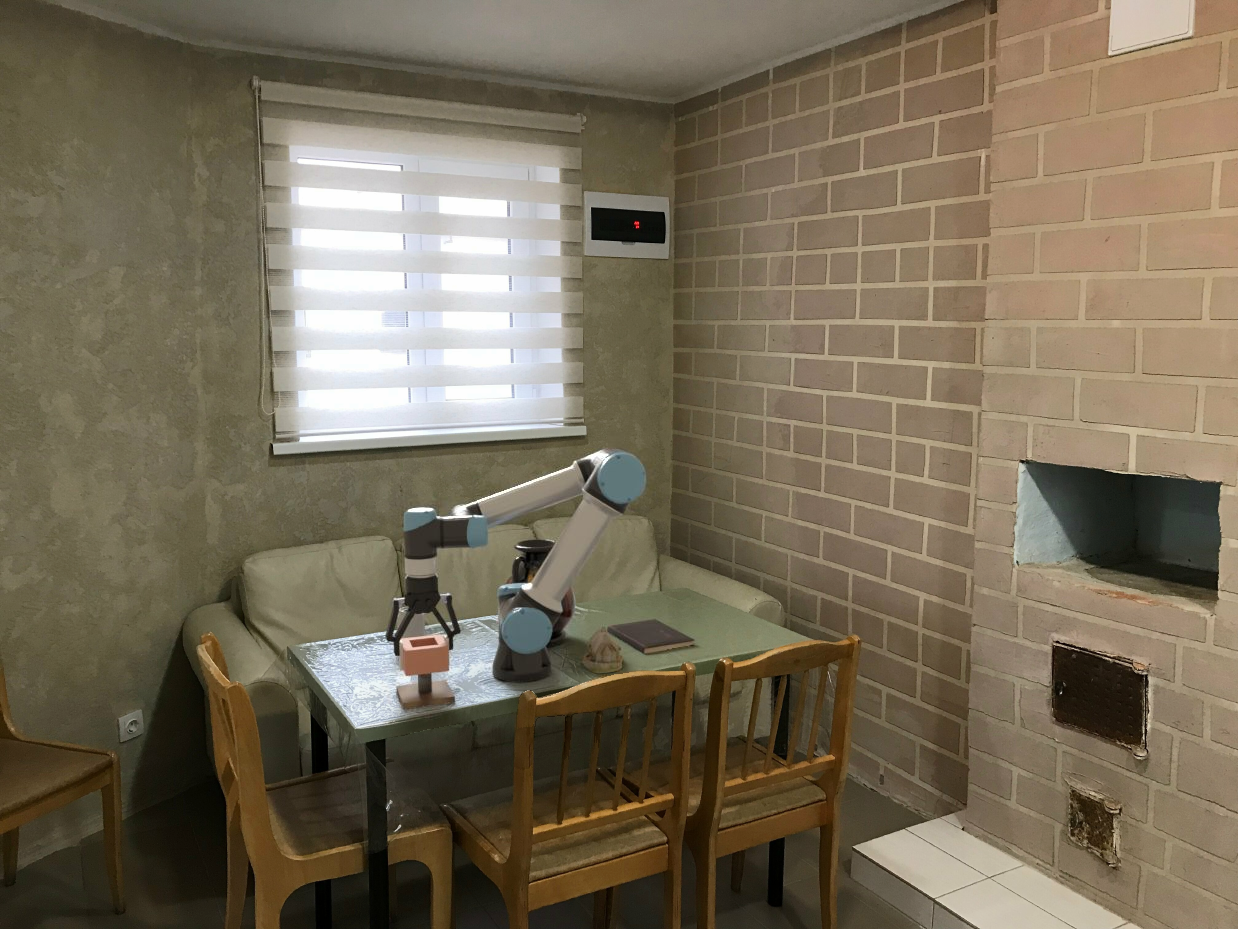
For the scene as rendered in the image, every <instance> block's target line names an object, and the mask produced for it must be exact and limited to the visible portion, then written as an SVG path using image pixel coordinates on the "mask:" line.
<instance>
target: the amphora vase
mask: <svg viewBox="0 0 1238 929" xmlns="http://www.w3.org/2000/svg"><path fill="white" fill-rule="evenodd" d="M556 542H557V541H555V540H550V539H527V540H521V541H517V542H516V543H514V544H513V549H514V550H515V551H517V552H519V553H520V556H518V557H515V559H514V560H513V562H512V566H511V573H510V575H509V576H508V577H507V579H506V580H505V583H504V584H503V585H506V584H514V583H531V582H532V580H533V578H534V577H535V575H536V574H537V572H538V570H539V569H540V567H541V566H542V564H543V562H544V561H545V559H546V558H547V556H548V555H549V553H550V551H551V550H552V548H553V547H554V545H555V543H556ZM561 606H562V610H563V611H562V613H561V614H560V616H559V618H558V619H557V621H556V622H555V624H554V626H553V627H552V635H551V638H550V640H549V642H548V644H547V645H546V648H548V647H553V646H556V645H559V644H561V643H563V642H564V641H565V640H566V639H567V638H568V637H567V636H568V633H567V631H566V630H565V629H566V628H567V627H568V626H569V624H571V622H572V620H573V619H574V615H575V613H576V596H575V592H574V589H573V586H572V585H571V586H570V588H569V590H568V591H567V593H566V594H565V596H564V598H563V599H562V601H561Z"/></svg>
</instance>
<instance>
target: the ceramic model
mask: <svg viewBox="0 0 1238 929" xmlns="http://www.w3.org/2000/svg"><path fill="white" fill-rule="evenodd" d="M587 647H588V650H589V651H588V652H586V653H584V656H583V658H582V660H581V662H582V665H584V667H585V668H586V669H587V670H589V671H590V672H592V673H596V674H604V673H606V674H607V673H612V672H613V673H614V672H617V671H619V670H621V669H622V668H623V661H624V656H623V655H622V654H621V651H622V647H621V645H619V644H618V643H617V642H616V641H615V640H614V639H613V638H612V636H611V635H610V634H609V633H608V632H607V628H606V627H605V626H602V627H598V628H597V629H596V631H595V632H594V633H593V634H592V635H591V637H590V638H589V639H588V641H587Z"/></svg>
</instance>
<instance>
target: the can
mask: <svg viewBox="0 0 1238 929" xmlns="http://www.w3.org/2000/svg"><path fill="white" fill-rule="evenodd" d="M408 608H409V607H408V606H402V607H401V608H399V614H398V617H397V621H396V630H397V629H398V628H399V626H400V624H401V622H402V620H403V618H404V616H405V615H406V612H407V610H408ZM425 614H426V613H422V614H415V615H414V617H413V618H412V619H411V621H410V623H409V625H408V627H407V629H406V630H405V632H404V634H403V636H402V638H411V637H421V636H426V617H425V616H426V615H425ZM402 638H401V639H402Z"/></svg>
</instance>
